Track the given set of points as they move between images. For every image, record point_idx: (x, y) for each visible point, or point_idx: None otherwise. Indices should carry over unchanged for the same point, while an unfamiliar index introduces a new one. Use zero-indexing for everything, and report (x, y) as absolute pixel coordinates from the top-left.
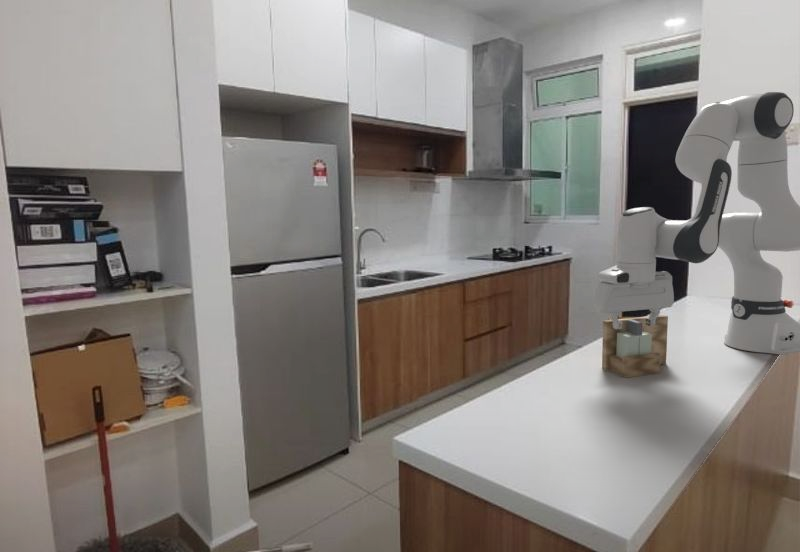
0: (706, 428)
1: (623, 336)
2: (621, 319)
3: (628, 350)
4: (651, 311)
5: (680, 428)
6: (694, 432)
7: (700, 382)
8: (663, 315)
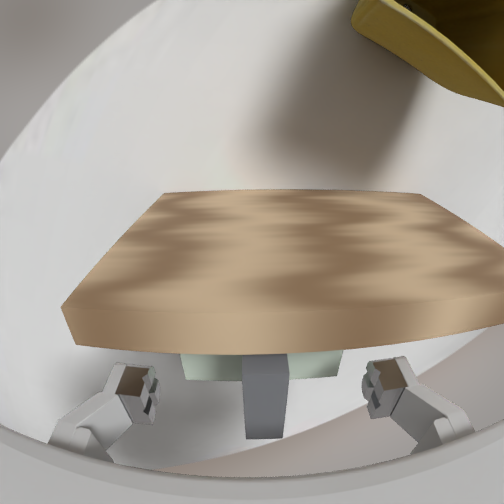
0: (202, 458)
1: (181, 354)
2: (218, 334)
3: None
4: (442, 414)
5: (168, 451)
6: (180, 458)
7: (362, 356)
8: None
